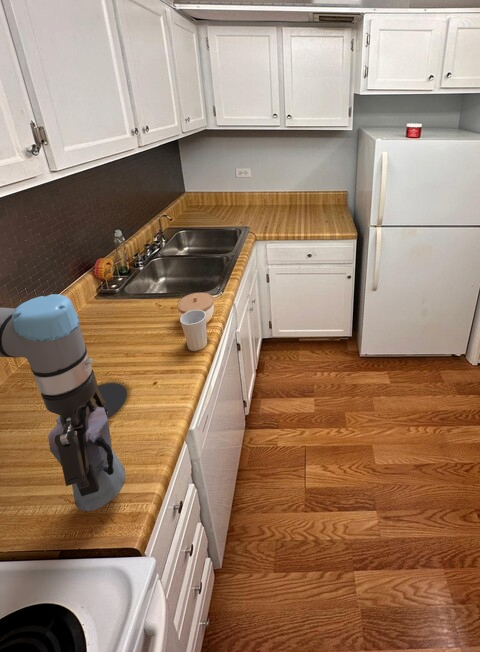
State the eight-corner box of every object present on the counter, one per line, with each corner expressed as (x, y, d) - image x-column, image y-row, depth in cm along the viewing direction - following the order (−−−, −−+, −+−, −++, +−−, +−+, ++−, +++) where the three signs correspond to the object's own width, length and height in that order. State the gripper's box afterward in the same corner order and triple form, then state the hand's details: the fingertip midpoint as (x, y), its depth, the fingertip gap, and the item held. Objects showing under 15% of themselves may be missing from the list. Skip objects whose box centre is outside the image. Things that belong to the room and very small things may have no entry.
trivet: (59, 437, 82) (58, 434, 82) (76, 393, 95) (75, 390, 94) (122, 420, 87) (122, 417, 86) (131, 380, 99) (130, 377, 99)
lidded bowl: (208, 308, 133) (205, 284, 129) (221, 323, 124) (218, 298, 120) (176, 320, 126) (171, 295, 122) (187, 337, 116) (183, 311, 112)
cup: (190, 337, 116) (186, 309, 112) (213, 338, 116) (209, 310, 112) (181, 354, 109) (175, 324, 105) (205, 354, 109) (200, 324, 104)
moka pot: (98, 451, 74) (76, 385, 67) (151, 479, 69) (133, 411, 62) (54, 495, 66) (22, 426, 58) (110, 531, 61) (83, 460, 53)
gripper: (73, 428, 49) (106, 520, 57) (106, 335, 68) (127, 414, 76) (10, 444, 46) (54, 537, 55) (63, 343, 65) (89, 423, 74)
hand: (97, 465), depth 65 cm, fingers closed on moka pot, 9 cm apart
